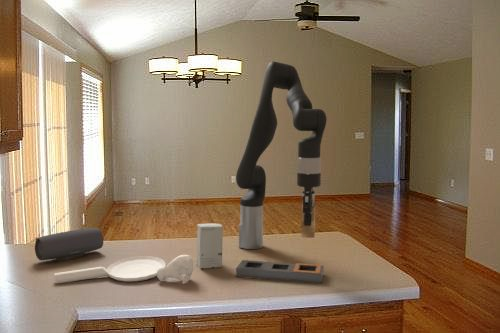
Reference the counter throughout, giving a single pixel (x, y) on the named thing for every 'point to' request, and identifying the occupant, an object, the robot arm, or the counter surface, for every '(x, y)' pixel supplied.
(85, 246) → the bluetooth speaker
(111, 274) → the frying pan
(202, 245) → the skincare box
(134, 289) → the counter surface
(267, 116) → the robot arm
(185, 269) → the white animal figurine
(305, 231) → the oak peg
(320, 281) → the graphite rail
